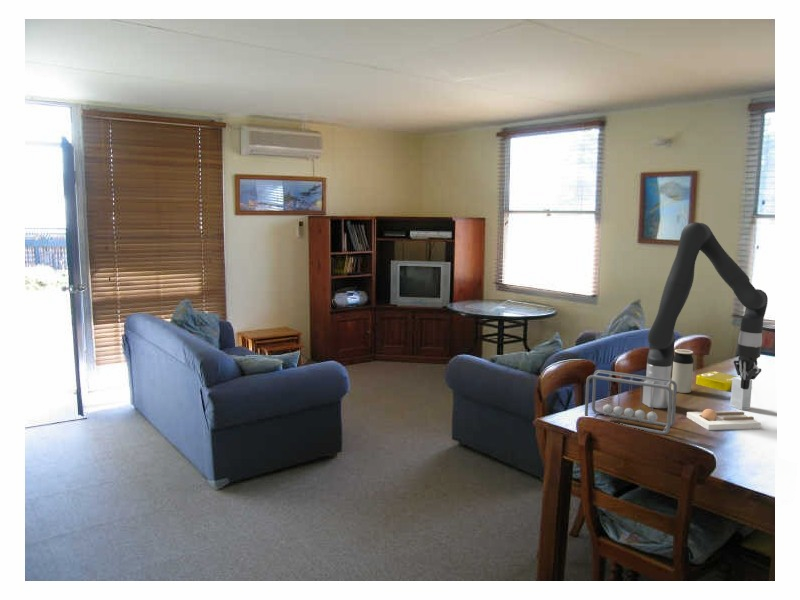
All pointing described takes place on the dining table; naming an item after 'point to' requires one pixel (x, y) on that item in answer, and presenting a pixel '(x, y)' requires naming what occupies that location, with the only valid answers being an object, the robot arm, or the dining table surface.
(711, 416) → the ball
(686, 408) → the dining table surface
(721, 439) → the dining table surface
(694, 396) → the dining table surface
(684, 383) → the travel mug
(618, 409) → the newton's cradle
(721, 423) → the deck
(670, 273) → the robot arm
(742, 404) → the skincare box
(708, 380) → the element tile
